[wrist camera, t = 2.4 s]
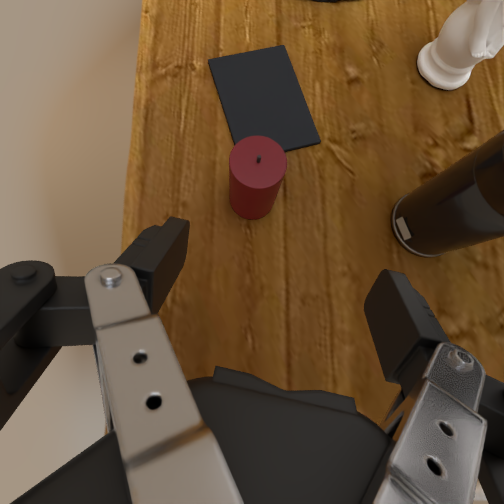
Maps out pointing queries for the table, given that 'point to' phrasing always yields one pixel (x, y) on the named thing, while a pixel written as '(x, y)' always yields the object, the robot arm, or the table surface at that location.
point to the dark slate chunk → (326, 0)
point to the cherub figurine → (463, 43)
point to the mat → (264, 98)
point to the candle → (255, 175)
